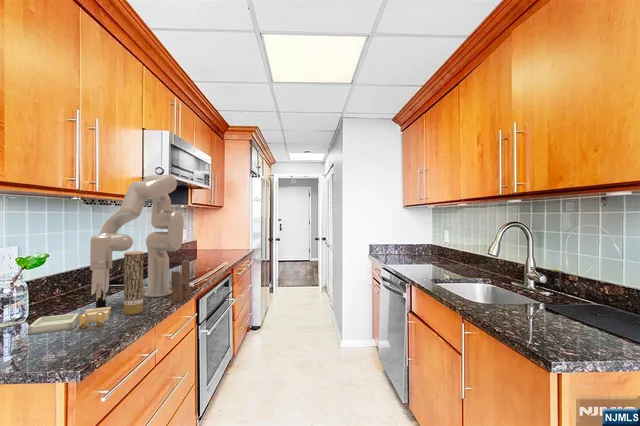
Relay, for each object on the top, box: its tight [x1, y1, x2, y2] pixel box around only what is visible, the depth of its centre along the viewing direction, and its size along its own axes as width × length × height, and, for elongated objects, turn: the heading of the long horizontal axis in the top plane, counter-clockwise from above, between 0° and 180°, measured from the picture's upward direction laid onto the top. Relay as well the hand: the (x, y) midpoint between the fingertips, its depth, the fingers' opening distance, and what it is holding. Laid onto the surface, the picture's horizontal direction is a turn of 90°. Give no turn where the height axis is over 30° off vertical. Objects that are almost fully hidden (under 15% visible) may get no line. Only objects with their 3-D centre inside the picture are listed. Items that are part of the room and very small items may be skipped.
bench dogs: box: [75, 312, 106, 333], centre depth 116 cm, size 4×8×5 cm, turn 116°
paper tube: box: [123, 250, 144, 316], centre depth 134 cm, size 7×7×25 cm
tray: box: [27, 312, 81, 336], centre depth 118 cm, size 12×12×2 cm
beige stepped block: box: [83, 306, 112, 324], centre depth 127 cm, size 9×8×4 cm
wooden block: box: [171, 259, 192, 303], centre depth 156 cm, size 4×11×18 cm, turn 173°
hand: (101, 309), depth 135 cm, fingers closed
